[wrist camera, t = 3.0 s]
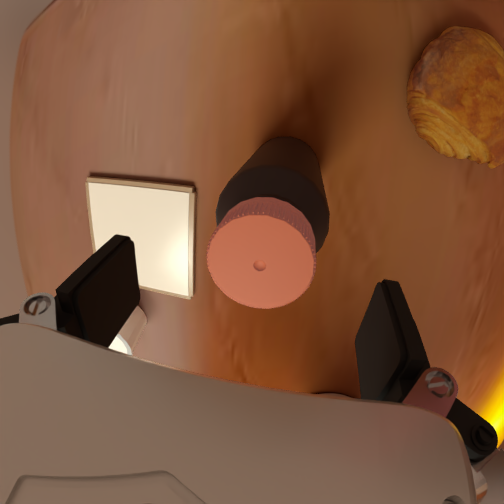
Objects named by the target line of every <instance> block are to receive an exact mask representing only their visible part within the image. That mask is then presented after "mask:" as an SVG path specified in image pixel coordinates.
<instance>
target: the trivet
mask: <svg viewBox="0 0 504 504" xmlns="http://www.w3.org/2000/svg"><path fill="white" fill-rule="evenodd" d="M85 183H86V195H87V206H88V215H89V224H90V232H91V239H92V246H93V253H95V252H96V251H97V250H98V249H99V248H100V247H102V246H103V245H104V244H105V243H106V242H107V241H108V240H109V239H111V238H112V237H113V236H114V235H116V234H118V235H124V236H129V237H130V238H131V240H132V241H133V242H134V245H135V255H136V265H137V274H138V282H139V288H141V289H145V290H149V291H153V292H158V293H162V294H167V295H171V296H176V297H180V298H185V299H190V300H191V298H192V297H193V295H194V279H195V221H196V194H197V192H195V191H194V186H188V185H180V184H171V183H161V182H152V181H142V180H131V179H120V178H108V177H95V176H89V177H87V181H86V182H85Z"/></svg>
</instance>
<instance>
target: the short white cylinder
mask: <svg viewBox="0 0 504 504" xmlns="http://www.w3.org/2000/svg"><path fill="white" fill-rule="evenodd" d="M146 324H147V318H146V315H145V313H144V312H143V311H142V309H141V308H140V307H139V306H137V307H136V308H135V310H134V311H133V312H132V314H131V315H130V317H129V318H128V320H127V321H126V323H125V324H124V325H123V327H122V328H121V330H120V331H119V333H118V334H117V336H116V337H115V339H114V340H113V342H112V343H111V345H110V346H109V348H110V349H113V350H116V351H119V352H122V353H126V354H129V355H132V354H133V352H134V349H135V347H136V345H137V343H138V341H139V339H140V337H141V334H142V332H143V330H144V328H145V326H146Z"/></svg>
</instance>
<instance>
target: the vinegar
mask: <svg viewBox="0 0 504 504" xmlns="http://www.w3.org/2000/svg"><path fill="white" fill-rule="evenodd" d="M329 215H330V213H329V208H328V204H327V199H326V194H325V190H324V185H323V181H322V176H321V172H320V168H319V164H318V161H317V157H316V155H315V153H314V152H313V150H312V149H311V148H310V146H308V145H307V144H306V143H304V142H303V141H301V140H299V139H296V138H293V137H277V138H274V139H271V140H269V141H268V142H266V143H265V144H263V145H262V146H261V147H260V148H259V149H258V150H257V151H256V152H255V153H254V154H253V155H252V157H251V158H250V159H249V160H248V161H247V162H246V163H245V164H244V165H243V166H242V167H241V169H240V170H239V171H238V172H237V173H236V174H235V175H234V176H233V177H232V178H231V180H230V181H229V182H228V184H227V185H226V187H225V188H224V190H223V191H222V193H221V194H220V197H219V201H218V205H217V209H216V222H217V228H216V230H215V231H214V233H213V235H212V236H211V239H210V241H209V244H208V248H207V251H208V252H207V253H206V255H207V257H206V259H208V260H207V262H206V263H208V265H207V267H209V269H208V271H210V275H212V277H211V278H213V279H214V281H213V282H215V283H216V285H217V286H218V287H219V289H221V290H222V291H221V292H224V293H225V295H227V296H228V297H230V298H232V300H235V301H236V302H238V303H239V304H244V305H247V306H248V307H249V306H250V307H252V308H261V309H262V308H265V309H266V308H269V309H270V308H275V307H278V308H279V306H284V305H287V303H291V301H295V299H298V297H299V296H301V294H302V293H304V291H305V290H307V287H309V286H310V283H312V280H313V276H315V271H316V270H315V268H316V253H317V252H318V251H319V249H320V248H321V247H322V245H323V243H324V241H325V238H326V236H327V234H328V230H329Z"/></svg>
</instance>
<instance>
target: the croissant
mask: <svg viewBox="0 0 504 504" xmlns="http://www.w3.org/2000/svg"><path fill="white" fill-rule="evenodd" d="M407 103H408V105H407V108H408V114H409V117H410V119H411V121H412V123H413V124H414V125H415V127H416V132H417V134H418V136H419V137H420V138H422V139H425V140H426V141H427V143H428V144H429V145H430V146H431V147H432V148H433V149H435V150H436V151H438V153H440V154H444V155H446V156H447V157H451V156H453V157H454V158H458V159H464V158H468V159H470V160H475V161H476V162H477V163H478V164H479V163H481V164H483V163H487V162H488V167H489V168H495V167H497V166H500V165H501V164H502V163H503V162H504V51H503V49H502V48H501V46H500V45H499V43H498V42H497V41H496V40H495V39H494V38H493V37H492V36H491V35H490V34H487V33H486V32H483V31H482V30H480V29H474V28H470V27H460V26H452V27H449V28H447V29H446V30H444V31H443V32H442V33H441V35H440V36H439V38H436V39H434V40H433V41H431V42H430V43H429V44H428V45H427V47H426V48H425V49H424V51H423V53H422V57H421V59H420V60H419V61H418V62H417V63H416V66H415V67H414V68H413V69H412V71H411V74H410V78H409V81H408V84H407Z"/></svg>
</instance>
